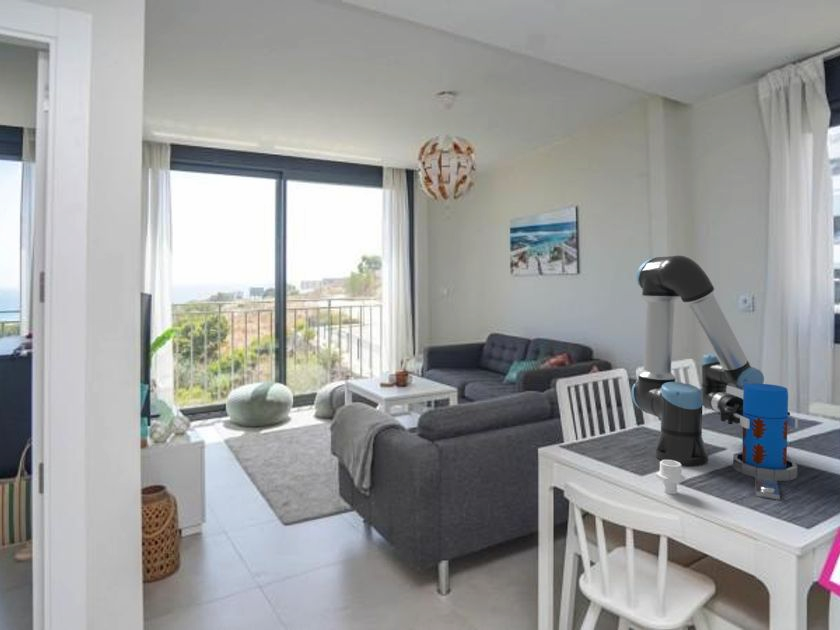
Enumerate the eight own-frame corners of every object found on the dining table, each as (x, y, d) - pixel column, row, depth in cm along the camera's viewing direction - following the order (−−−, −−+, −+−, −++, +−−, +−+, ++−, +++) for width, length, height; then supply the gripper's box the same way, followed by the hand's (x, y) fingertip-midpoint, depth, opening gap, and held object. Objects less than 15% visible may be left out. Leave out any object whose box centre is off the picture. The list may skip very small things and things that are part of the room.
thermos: (779, 480, 142) (781, 392, 140) (736, 470, 150) (738, 387, 149) (790, 470, 149) (792, 387, 147) (749, 461, 157) (751, 382, 155)
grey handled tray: (732, 491, 135) (732, 481, 135) (733, 447, 170) (733, 439, 169) (805, 504, 127) (805, 492, 126) (790, 455, 161) (790, 446, 161)
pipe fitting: (688, 491, 136) (688, 462, 135) (676, 499, 131) (677, 469, 131) (663, 484, 140) (664, 456, 140) (652, 492, 136) (652, 463, 135)
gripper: (768, 416, 166) (816, 436, 145) (691, 417, 167) (727, 436, 146) (768, 394, 166) (817, 410, 144) (691, 395, 167) (728, 411, 145)
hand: (772, 423), depth 145 cm, fingers open, 13 cm apart
